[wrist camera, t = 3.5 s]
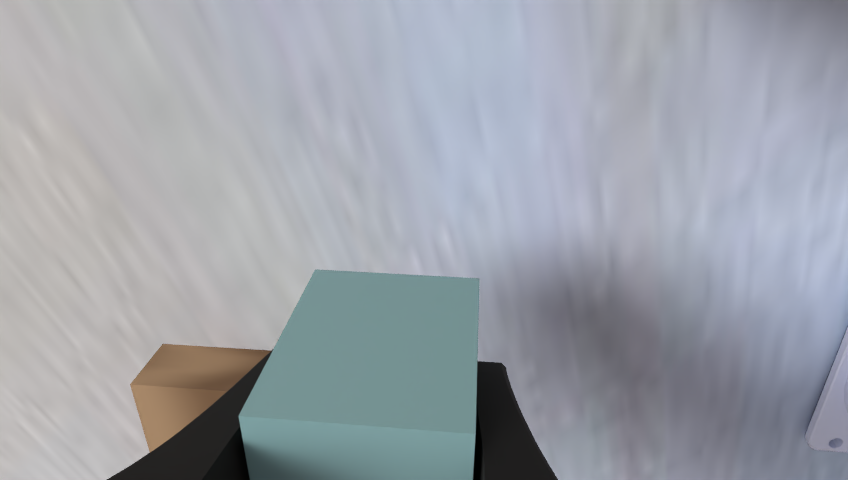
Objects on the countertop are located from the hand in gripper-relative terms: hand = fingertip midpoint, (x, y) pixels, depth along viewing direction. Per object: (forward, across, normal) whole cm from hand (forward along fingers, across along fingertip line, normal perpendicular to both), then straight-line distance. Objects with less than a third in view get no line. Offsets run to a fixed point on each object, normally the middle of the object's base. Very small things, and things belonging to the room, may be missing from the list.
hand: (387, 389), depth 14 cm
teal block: (+2, 0, 0) cm, 2 cm away
